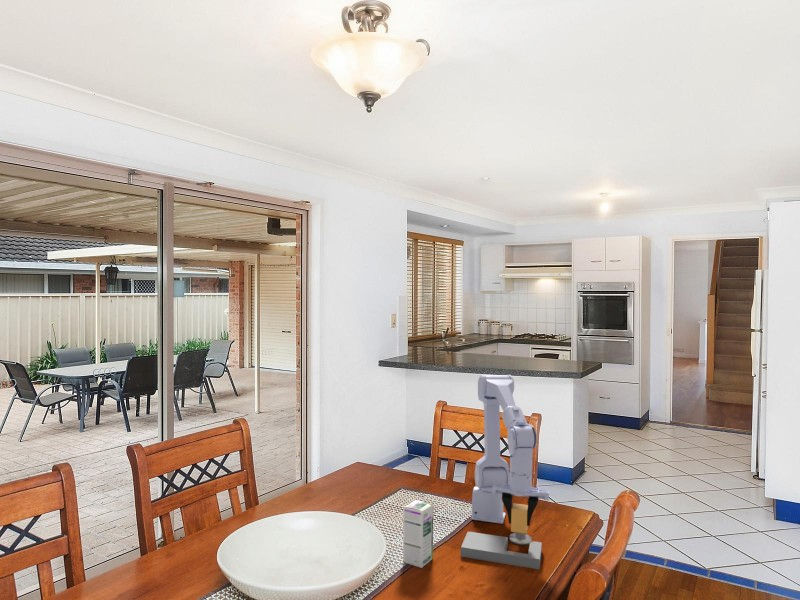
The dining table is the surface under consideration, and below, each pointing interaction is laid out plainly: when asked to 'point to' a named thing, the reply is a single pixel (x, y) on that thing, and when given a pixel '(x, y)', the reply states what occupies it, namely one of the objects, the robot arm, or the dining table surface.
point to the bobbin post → (520, 538)
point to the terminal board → (499, 550)
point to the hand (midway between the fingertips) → (519, 523)
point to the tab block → (519, 518)
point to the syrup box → (418, 533)
